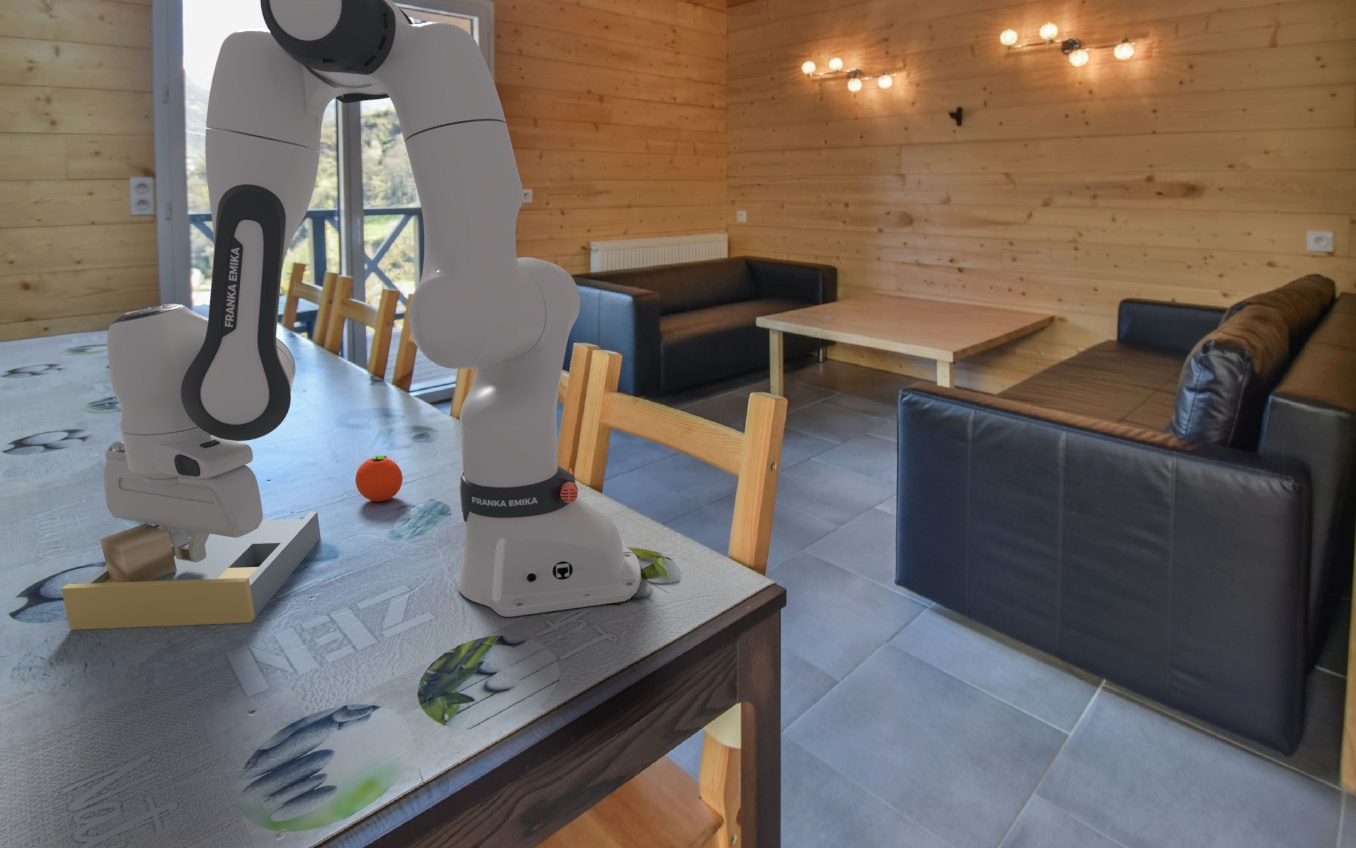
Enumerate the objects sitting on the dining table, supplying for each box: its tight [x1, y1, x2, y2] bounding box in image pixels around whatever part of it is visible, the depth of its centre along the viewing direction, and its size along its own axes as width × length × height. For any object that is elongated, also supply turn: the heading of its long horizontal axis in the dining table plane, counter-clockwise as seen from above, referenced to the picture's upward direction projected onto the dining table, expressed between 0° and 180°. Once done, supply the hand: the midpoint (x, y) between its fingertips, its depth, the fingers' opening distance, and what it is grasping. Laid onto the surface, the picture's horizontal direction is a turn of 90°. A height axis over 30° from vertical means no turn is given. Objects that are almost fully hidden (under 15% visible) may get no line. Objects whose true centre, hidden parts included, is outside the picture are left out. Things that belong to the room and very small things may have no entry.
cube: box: [99, 523, 177, 582], centre depth 93 cm, size 5×5×5 cm
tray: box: [61, 511, 322, 631], centre depth 99 cm, size 23×19×5 cm
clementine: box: [354, 455, 403, 502], centre depth 125 cm, size 8×7×7 cm
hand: (191, 559), depth 95 cm, fingers closed
